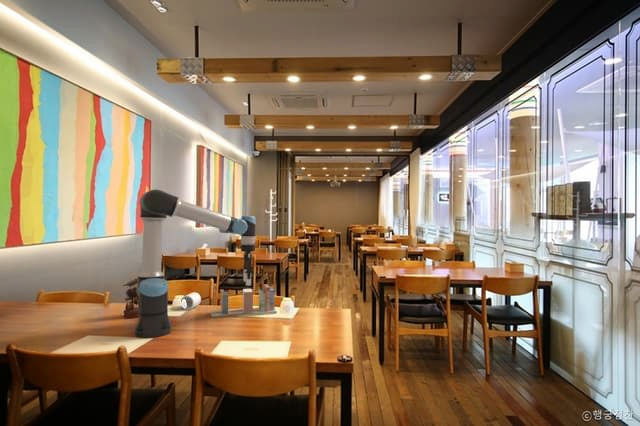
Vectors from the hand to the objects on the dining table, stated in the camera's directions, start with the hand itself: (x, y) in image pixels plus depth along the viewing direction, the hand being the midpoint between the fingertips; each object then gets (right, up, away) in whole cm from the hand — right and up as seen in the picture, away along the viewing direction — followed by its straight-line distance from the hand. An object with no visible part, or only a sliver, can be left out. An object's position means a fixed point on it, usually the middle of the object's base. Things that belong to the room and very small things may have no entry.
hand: (247, 283), depth 204 cm
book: (0, -15, 0) cm, 15 cm away
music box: (-57, -16, -7) cm, 60 cm away
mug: (-36, -16, +11) cm, 41 cm away
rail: (-2, -16, -1) cm, 16 cm away
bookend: (-11, -15, -3) cm, 19 cm away
